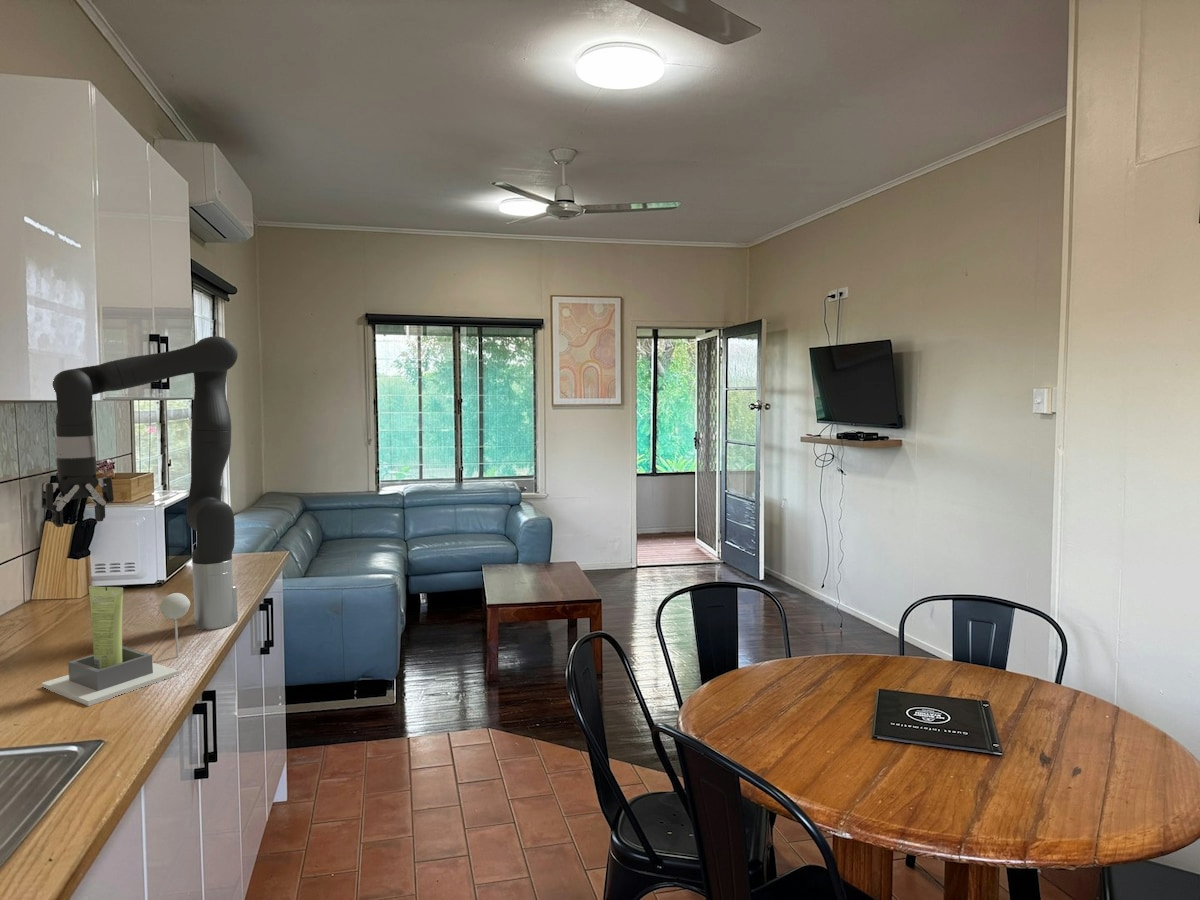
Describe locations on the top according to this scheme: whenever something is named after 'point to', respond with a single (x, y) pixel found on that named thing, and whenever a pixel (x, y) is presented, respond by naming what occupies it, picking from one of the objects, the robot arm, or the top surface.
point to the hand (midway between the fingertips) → (80, 523)
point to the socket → (108, 677)
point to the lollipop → (175, 609)
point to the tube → (106, 625)
